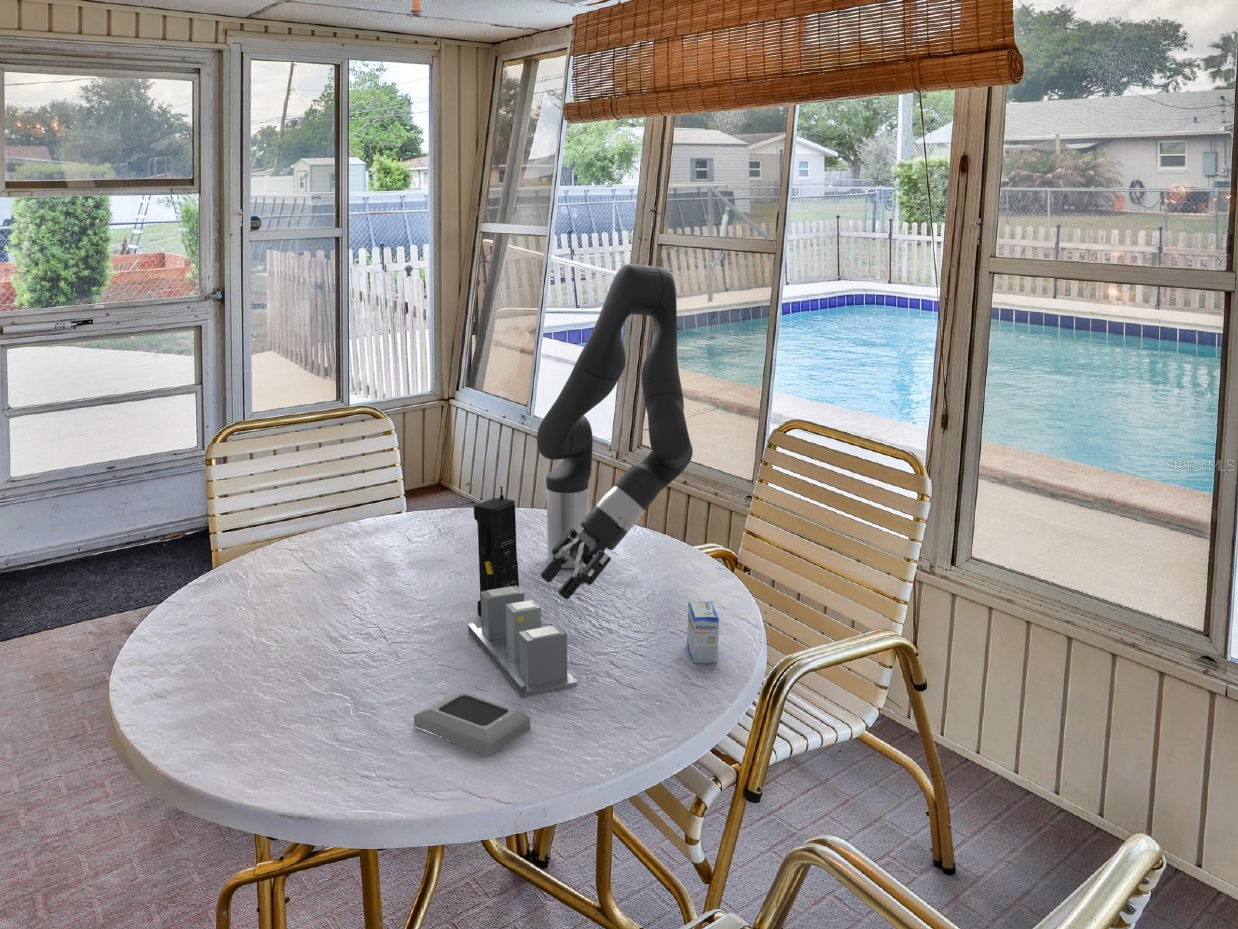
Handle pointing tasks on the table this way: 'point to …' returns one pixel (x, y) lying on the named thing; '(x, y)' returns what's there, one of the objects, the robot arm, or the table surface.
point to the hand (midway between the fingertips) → (553, 587)
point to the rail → (514, 666)
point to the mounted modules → (526, 638)
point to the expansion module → (520, 623)
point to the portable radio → (496, 544)
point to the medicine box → (702, 632)
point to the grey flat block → (473, 722)
